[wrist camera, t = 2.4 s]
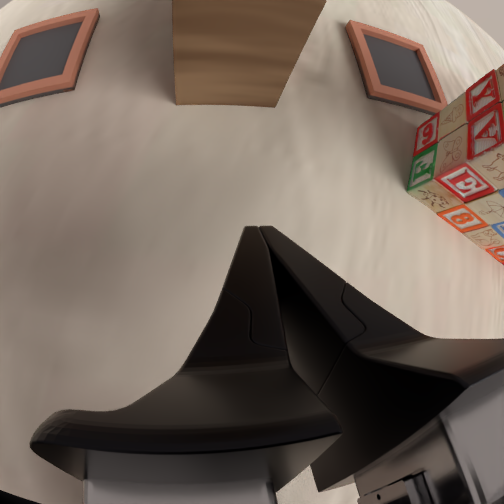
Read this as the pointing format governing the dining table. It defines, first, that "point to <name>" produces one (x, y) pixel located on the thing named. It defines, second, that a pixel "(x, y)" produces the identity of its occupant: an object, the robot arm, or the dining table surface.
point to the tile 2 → (395, 69)
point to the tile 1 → (45, 57)
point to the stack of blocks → (466, 163)
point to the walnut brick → (238, 48)
